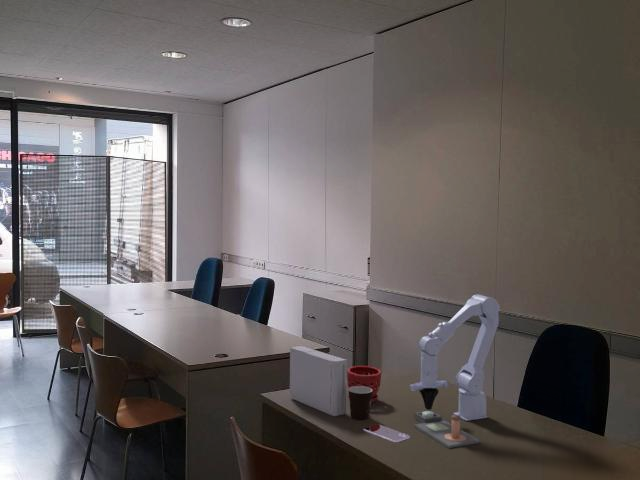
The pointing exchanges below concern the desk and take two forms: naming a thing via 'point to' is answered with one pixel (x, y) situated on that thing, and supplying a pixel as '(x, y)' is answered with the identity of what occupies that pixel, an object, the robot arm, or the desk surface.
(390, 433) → the mobile phone
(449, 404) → the desk surface
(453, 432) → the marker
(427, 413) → the button
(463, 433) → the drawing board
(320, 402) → the game console
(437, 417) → the button housing
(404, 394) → the desk surface
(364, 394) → the coffee mug
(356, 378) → the plant pot
